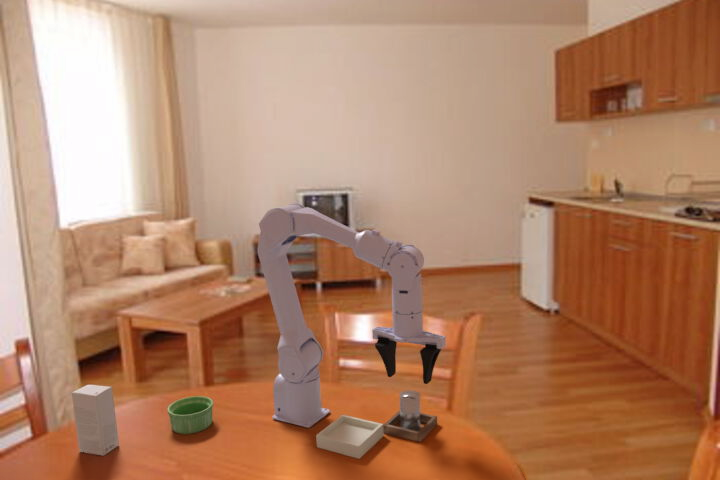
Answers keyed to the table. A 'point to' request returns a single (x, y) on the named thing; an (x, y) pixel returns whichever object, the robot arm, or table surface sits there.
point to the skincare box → (95, 419)
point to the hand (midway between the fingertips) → (409, 378)
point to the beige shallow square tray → (350, 436)
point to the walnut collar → (407, 433)
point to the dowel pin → (410, 410)
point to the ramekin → (190, 414)
